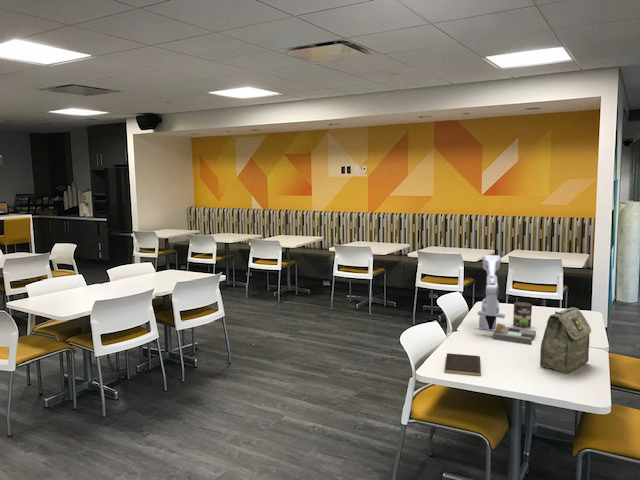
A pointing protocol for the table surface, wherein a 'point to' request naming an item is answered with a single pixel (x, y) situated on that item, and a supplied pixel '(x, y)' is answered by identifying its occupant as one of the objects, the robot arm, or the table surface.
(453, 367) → the hardcover book
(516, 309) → the coffee can
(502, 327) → the maple block
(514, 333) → the trap board
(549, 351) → the bag
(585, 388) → the table surface
